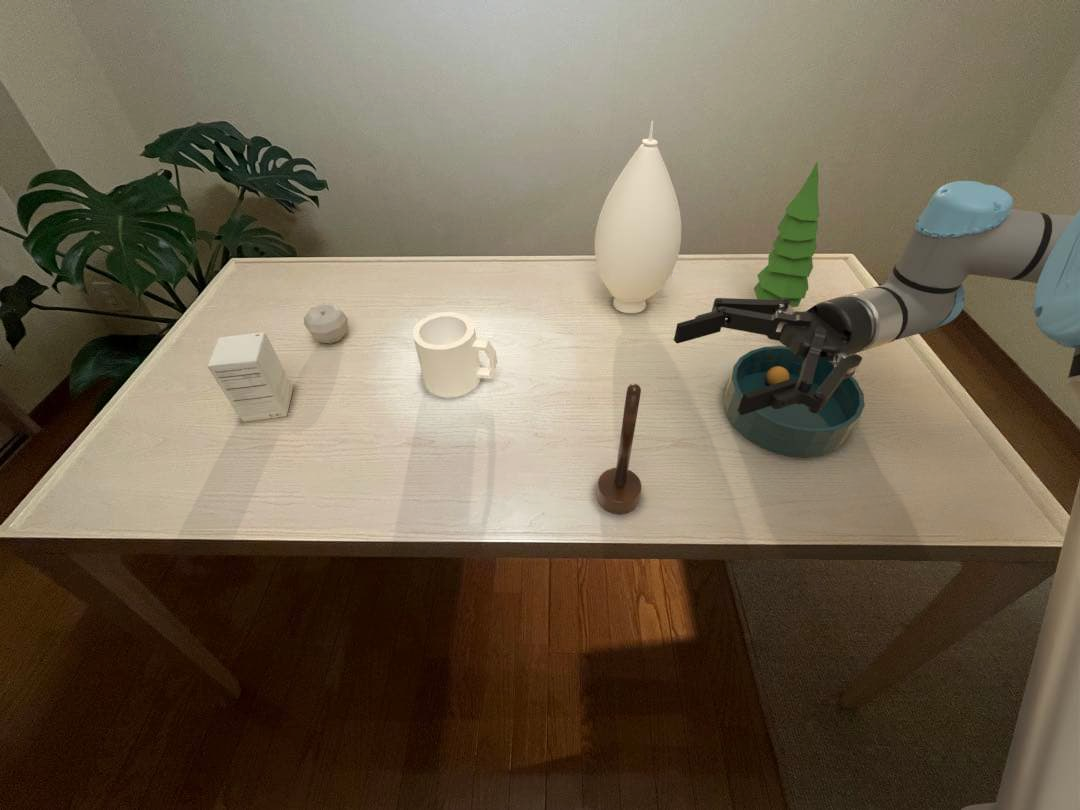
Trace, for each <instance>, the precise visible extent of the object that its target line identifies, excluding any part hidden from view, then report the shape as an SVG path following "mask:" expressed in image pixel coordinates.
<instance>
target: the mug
mask: <svg viewBox="0 0 1080 810" xmlns="http://www.w3.org/2000/svg"><path fill="white" fill-rule="evenodd" d="M412 337H413V341H414V345H415V350H416V354H417V358H418V362H419V366H420V370H421V374H422V378H423V384H424V387H425V388H426V390H427V391H428V392H429V393H430V394H433V395H434V396H435V397H441V398H447V399H449V398H457V397H462V396H464V395H467V394H468V393H471V392H472V391H474V390H475V389H476V388H477V387H478V385H479V384H480V383H481V380H482V379H489V380H493V376H494V375H495V374H494V373H495V372H496V367H497V364H498V356H497V352H496V349H495V348H494V347H493V345H492V344H491V342H490V341H489V340H486V339H485V340H484V339H477V333H476V326H475V324H474V321H473V320H472V319H471V318H470V317H469V316H467V315H465V314H462V313H459V312H455V311H441V312H437V313H432V314H430V315H428V316H425V317H423V318H422V319H420V320H419V321H418V322H417V323H416V325H415V326H414V327H413V330H412ZM479 351H481V352H484V353H485V354H486V356H487V358H488V361H489V366H490V367H482V366H481V363H480V355H479Z"/></svg>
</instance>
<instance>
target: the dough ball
mask: <svg viewBox="0 0 1080 810" xmlns="http://www.w3.org/2000/svg"><path fill="white" fill-rule="evenodd" d="M766 380H767V382H768V384H769V385H773V384H776V383H780V382H783V381H786V380H789V373H788V371H787V370H786V369H785V368H783V367H780V366H776V367H773V368H771V369H770V370H769V371H768V372H767V374H766Z"/></svg>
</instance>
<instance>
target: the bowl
mask: <svg viewBox="0 0 1080 810" xmlns="http://www.w3.org/2000/svg"><path fill="white" fill-rule="evenodd" d="M803 360H804V357H801V356H799V355H797V356H795V355H794V354H793V353H792V352H791V350H790V349H789V348H788V347H786V346H785V345H773V346H763V347H759V348H755V349H753V350H749V351H748V352H746V353H744V354H743V355H742V356H740V357H739V358H738V359H737V361H736V362H735V364H734V365H733V367H732V370H731V373H730V376H729V378H728V381H727V385H726V388H725V393H724V396H723V397H724V398H723V409H724V412H725V414H726V417H727V419H728V420H729V422H730V424H731V425H732V426H733V428H734V429H735V430H736V431H737V432H738V433H739V434H740V435H742V436H743V437H744V438H745V439H747V440H748V441H750V443H752V444H754V445H756V446H758V447H760V448H761V449H764V450H767V451H768V452H772V453H775V454H777V455H782V456H785V457H791V458H804V459H805V458H817V457H821V456H824V455H828V454H830V453H833V452H834V451H836V450H837V449H839V448H840V447H841V446H843V444H844V442H845V441H846V440H848V437H849V436H850V435H851V432H852V431H853V430H854V428H855V426H856V424H857V423H858V421H859V420H860V418H861V416H862V413H863V411H864V409H865V405H866V403H865V395H864V392H863V390H862V388H861V386H860V384H859V381H858V380H856V378H855V377H854V375H853V376H851V377H849V378H847V379H844V380H842V382H841V383H840V384H839V386H838V387H837V389H836V390H835V391H834V393H833V394H832V395H831V397H830V398H829V399H828V401H827V402H826V403H825V405H824V406H823V407H822V409H821V410H820V411H819V412H818V413H811V412H810V411H809V410H808V406H806V405H804V404H796V403H795V404H792V405H789V406H786V407H783V408H780V409H773V408H772V407H771V406H769V407H766V408H763V409H760V410H757V411H753V412H750V413H747V414H744V415H741V414H740V413H739V412H738V408H739V405H740V402H741V400H742V397H743V394H745V393H748V392H751V391H754V390H757V389H761V388H764V387H767V386H770V385H769V384H768V382H767V380H766V374H767V372H768V371H769V370H770V369H771V368H773V367H776V366H780V367H783V368H785V369H786V370H787V371H788V373H789V379H792V378H793V379H794V380H795V381H796V382H798V379H799V375H800V372H801V369H802V368H801V367H802V364H803ZM834 364H835V360H834V361H825V360H818V363H817V367H816V370H815V374H814V378H813V381H812V382H813V384H812V386H811V389H813V390H814V391H817V390H818V388H819V387H820V386H821V385H822V383H823V382H824V381H825V379H826V378H827V377H828V376H829V374H830V373H831V372H832V370H833V369H834V368H835V367H834ZM796 385H797V384H796ZM795 387H796V386H795Z"/></svg>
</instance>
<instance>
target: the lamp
mask: <svg viewBox="0 0 1080 810" xmlns="http://www.w3.org/2000/svg"><path fill="white" fill-rule="evenodd" d="M658 144H659V142H658V140H656V139H655V138H654V120H651V122H650V126H649V131H648V137H647V138H643V139H642V140H641V144H640V145H639V147H638V148H637V149H636V150H635V151H634V153H633V155H632V156H631V158H630V159H629V161H628V162H627V163H626V164H625V166H624V168H623V170H622V171H621V172H620V174H619V175H618V177H617V179H616V180H615V182H614V184H613V186H612V187H611V189H610V190H609V193H608V195H606V198H605V200H604V203H603V205H602V208H601V211H600V213H599V216H598V219H597V224H596V229H595V234H594V258H595V263H596V268H597V271H598V274H599V276H600V279H601V281H602V282H603V285H604V286H605V287H606V289H607V290H608V291H609V293H610V294H611V295H612V296H613V297H614V298H613V302H612V303H613V307H614V308H615V309H616V310H617V311H618V312H621V313H624V314H638V313H640V312H643V311H644V310H646V307H647V301H646V300H648V299H650V298H652V297H653V296H654V295H655V294H656V293H658V292H659V291H660V290H661V288H663V287H664V285H665V284H666V283H667V282H668V280H669V279H670V277H671V275H672V274H673V271H674V268H675V266H676V264H677V261H678V258H679V255H680V252H681V251H680V250H681V245H682V216H681V209H680V204H679V201H678V197H677V194H676V190H675V187H674V184H673V181H672V178H671V176H670V173H669V171H668V168H667V165H666V163H665V161H664V159H663V156H662V154H661V152H660V149H659V147H658Z"/></svg>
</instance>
